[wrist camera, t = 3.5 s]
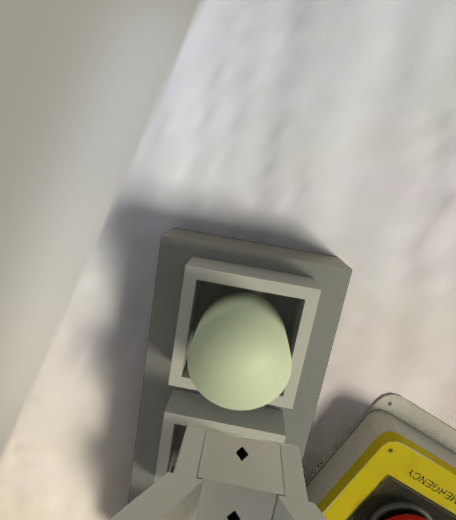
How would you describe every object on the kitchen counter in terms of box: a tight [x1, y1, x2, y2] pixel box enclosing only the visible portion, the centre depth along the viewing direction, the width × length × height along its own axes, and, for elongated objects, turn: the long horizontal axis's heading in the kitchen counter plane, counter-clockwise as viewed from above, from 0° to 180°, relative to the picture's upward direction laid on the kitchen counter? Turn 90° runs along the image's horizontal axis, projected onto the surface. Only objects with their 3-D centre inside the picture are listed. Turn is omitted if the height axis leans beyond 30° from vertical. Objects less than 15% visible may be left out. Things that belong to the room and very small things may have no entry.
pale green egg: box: [187, 292, 292, 410], centre depth 16 cm, size 4×4×3 cm
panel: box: [128, 228, 352, 504], centre depth 21 cm, size 24×10×5 cm, turn 170°
